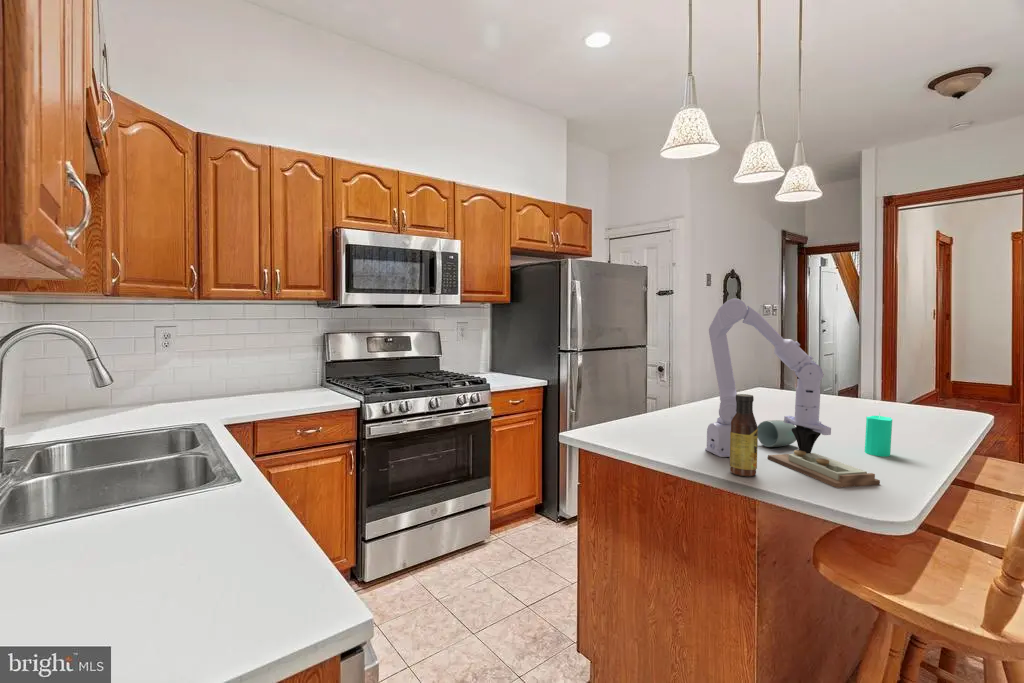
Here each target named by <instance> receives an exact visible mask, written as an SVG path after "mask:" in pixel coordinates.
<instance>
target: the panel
mask: <svg viewBox="0 0 1024 683" xmlns="http://www.w3.org/2000/svg"><path fill="white" fill-rule="evenodd" d="M788 454H789V457H788V460H789V461H791V462H794V463H796V464H799V465H801V466H804V467H806V468H809V469H811V470H814V471H816V472H819V473H821V474H823V475H826V476H828V477H831V478H833V479H836V480H839V477H840V475H850V474H865V473H868V472H867V471H866V470H863V469H861V468H858V467H855V466H852V465H849V464H847V463H844V462H841V461H838V460H835V459H832V458H829V457H827V456H824V455H822V454H819V453H816V452H811V453H806V455H803V458H802V457H799V456H797V455H794V453H788ZM818 458H822V459H827V460H829V464H826V467H825V466H823V465H820V464H819V463H817V462H816V459H818Z"/></svg>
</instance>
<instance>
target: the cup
mask: <svg viewBox="0 0 1024 683" xmlns="http://www.w3.org/2000/svg"><path fill="white" fill-rule="evenodd" d="M757 426H758V441H759V443H760V444H761V445H763V447H767V448H776V447H778V448H779V447H785V446H789V445H791V444H794V443H795V442H797V440H796V438H795V436H794V434H793V432H792V428H796V425H792V424H789V423H784V419H783V420H781V419H779V420H778V419H774V420H773V419H772V420H769V419H768V420H764V421H762V422H759V424H757Z"/></svg>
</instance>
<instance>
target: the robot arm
mask: <svg viewBox="0 0 1024 683" xmlns="http://www.w3.org/2000/svg"><path fill="white" fill-rule="evenodd" d="M741 320H742V323H743V324H746V325H748V326H751V327H753V328H754V329H755V330H757V331H758V332H759V333H760V334H761V336H763V337H764V338H765V339H766V340H768V342H769V343H771V345H773V346H774V349H773V354H774V356H776V357H778V358H779V360H780V361H781V362H782V363H783V364H785V366H786V367H788V369H789V370H790V371H794V374H795V376H796V377H797V379H796V380H797V381H796V382H797V384H796V387H795V400H794V401H795V405H794V416H792V415H784V419H783V421H784V423H789V424H792V425H794V426H795V427H796V428H792V432H793V434H794V436H795V438H796V443H797V447H798V450H801V451H805V452H806V453H812V450H813V447H814V445H815V443H816V441H817V440H818V439H819V437H820V436H821V435H822V436H831V434H832V427H831V426H830V427H829V426H828V425H826V424H823V423H822V421H820V409H821V406H820V405H821V381H822V380H823V378H824V373H823V369H822V366H820V365H819V364H817V362H815V361H814V360H813V359H814V357H813V356H812V355H808V354H807V352H805V351H804V350H803V349H802V348H801V347H800V346H801V343H799V342H798V341H797V340H795V341H794V340H793V339H791V338H790V339H789V338H784V337H783V336H781V334H780V333H778V331H776V329H775V328H774V327H773V326H772V325H771V324H770V323H769V321H767V320H766V319H765V318H764V317H763V316H762V314H760V313H759V312H758V311H756V310H755V309H754V308H752V307H751V306H749V305H747V304H746V303H745V302H744V301H743V300H742V299H739V298H730V299H728V300H726V301H725V302H724V303H723V304H722V305H721V306H720V307H719V308H718V310H717V312H716V313H715V316H714V318H713V320H712V321H711V324H710V325H709V327H708V334H709V341H710V346H711V351H712V357H713V362H714V368H715V375H716V381H717V387H718V391H719V392H718V393H719V400H720V402H719V408H718V415H719V417H717V418H716V421H715V422H712V423H709V424H708V426H707V429H706V447H705V448H704V450H705V451H707V452H709V453H711V454H714V455H715V456H718V457H720V458H727V457H728V458H730V432H731V421H732V418H733V417H734V416H735V414H736V413H737V412H736V404H737V403H736V395H737V394H738V392H737V388H736V381H735V377H734V376H735V375H734V371H733V365H732V364H733V363H732V359H731V354H730V348H729V342H728V336H727V334H728V333H729V331H730V330H731V329H732V327H733V326H734V325H735V324H737V323H739V322H740V321H741Z"/></svg>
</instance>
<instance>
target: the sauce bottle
mask: <svg viewBox="0 0 1024 683" xmlns="http://www.w3.org/2000/svg"><path fill="white" fill-rule="evenodd" d="M754 399H755V398H754V395H753V394H748V393H747V394H744V393H739V394H738V393H737V395H736V403H737V404H736V412H737V413H736V414H735V416H734V417H733V418H732V421H731V432H730V457H729V466H730V473H731V474H733V475H736V476H740V477H754V476H756V474H757V469H758V444H759V443H758V441H759V439H758V424H757V422H756V421H757V420H756V417H755V416H754V410H753V406H754V405H753V404H754V403H753V402H754Z"/></svg>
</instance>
